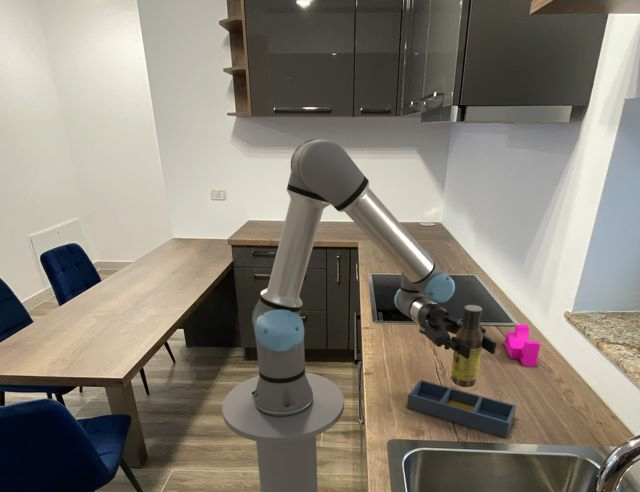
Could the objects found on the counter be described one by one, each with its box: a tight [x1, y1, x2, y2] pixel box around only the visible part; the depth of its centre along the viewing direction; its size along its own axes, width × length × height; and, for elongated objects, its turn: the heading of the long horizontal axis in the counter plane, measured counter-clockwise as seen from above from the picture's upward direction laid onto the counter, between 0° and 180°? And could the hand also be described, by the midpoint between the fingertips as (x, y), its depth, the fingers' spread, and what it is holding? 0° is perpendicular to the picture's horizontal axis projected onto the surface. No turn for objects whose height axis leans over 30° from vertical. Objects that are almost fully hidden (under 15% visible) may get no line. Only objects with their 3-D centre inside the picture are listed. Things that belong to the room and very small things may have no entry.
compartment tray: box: [406, 379, 517, 439], centre depth 112 cm, size 25×9×4 cm, turn 60°
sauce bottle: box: [450, 304, 483, 388], centre depth 106 cm, size 6×6×20 cm
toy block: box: [503, 324, 541, 367], centre depth 142 cm, size 15×6×8 cm, turn 173°
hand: (481, 350), depth 101 cm, fingers closed on sauce bottle, 6 cm apart
